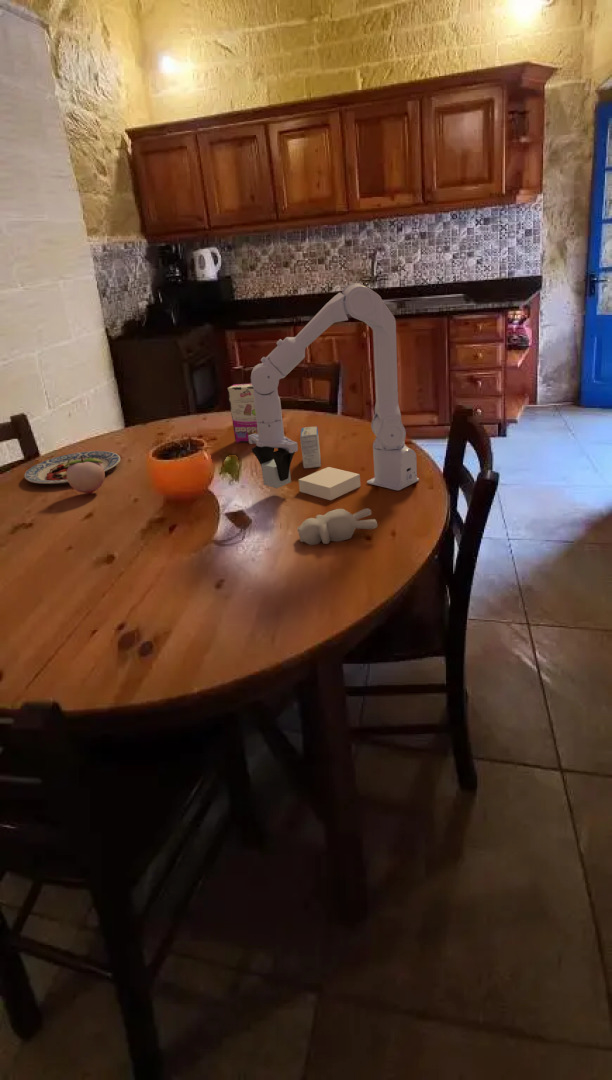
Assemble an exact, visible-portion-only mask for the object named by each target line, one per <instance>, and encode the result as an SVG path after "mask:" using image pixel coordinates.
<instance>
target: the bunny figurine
mask: <svg viewBox="0 0 612 1080" xmlns="http://www.w3.org/2000/svg"><path fill="white" fill-rule="evenodd" d="M371 515H372V509H370V508H367V507H365V508H363V509H361V510H359V511H357V512H355V513H353V514H352V513H351V512H349V511H348V510H345V509H344V508H336V509H332V510H330V511H328V512H326V513H325V514H317V515H315V517H309V518H306V519H305V520H304V521H303V522H302V523H301V525H300V526H297V527H296V528H297V532H298V536H299V540H300V543H303V542H304V543H305V544H307V545H309V546H313V545H318V544H320V543H321V542H322V543H323V544H324V545H328V544H329V543H330V542H331V541H332V542H343V541H346V540H349V539H351V538H352V537H353V534H354V533H355V530H357V529H358V530H360V529H361V530H373V529H376V528H377V527H378V526H379V525H378V522H377V519H375V518H373V519H372V518H370V519H363V518H365V517H369V516H371ZM360 519H361V520H360Z"/></svg>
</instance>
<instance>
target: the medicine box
mask: <svg viewBox="0 0 612 1080" xmlns="http://www.w3.org/2000/svg"><path fill="white" fill-rule="evenodd" d="M299 439H300V448H301V455H302V457H301V458H302V466H303V468H304V469H313V468H315V469H316V468H321V463H322V462H321V450H320V449H321V448H320V440H319V439H320V438H319V427H318V426H306V427H301V428H300V438H299Z"/></svg>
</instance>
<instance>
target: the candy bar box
mask: <svg viewBox="0 0 612 1080" xmlns="http://www.w3.org/2000/svg"><path fill="white" fill-rule="evenodd" d="M253 392H254V388H253V386H252V384H251V383H241V384H240V383H238V384H237V383H236V384H232V385H230V386H229V387H227V395H228V401H229V409H230V413H231V421H232V426H233V427H232V428H233V433H234V439H235V443H236V444H237V443H238V444H239V443H243V444H244V443H249V439H248V435H251V434H254V433H255V434H258V427H257V420H256V412H255V405H254V400H255V398H254V394H253Z"/></svg>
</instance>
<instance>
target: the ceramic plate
mask: <svg viewBox="0 0 612 1080" xmlns="http://www.w3.org/2000/svg"><path fill="white" fill-rule="evenodd" d="M81 456H82V458H83V460H85V459H88V458H96V459H99V460H101V461H102V462H103V463H101V462H99V463H100V464H101V465H102V466H103V469H104V472H105V473H106V472H107V471H110V470H111V469H113V468H114V467H116V466H117V465H118V464H119V463H120V461H121V456H120V455H119V454H117V453H116V452H112V451H106V450H91V451H90V450H89V451H81V452H80V451H79V452H74V453H68V454H64V455H60V456H55V457H52V458H50V459H47V460H44V461H41V462H39V463H37V464H34V465H33V466H31V467H30V468H29V469H26V471H25V473H24V479H25V480H26V481H28V482H30V483H35V484H47V485H48V484H49V485H53V484H67V483H68V484H69V482H68V480H67V469H68V467H69V466H70V465H71V464H70V465H68V466H66V467H65V468H64V466H65V465H66V464H67V463H69V462H71V461H74V460H80V461H82V460H81Z"/></svg>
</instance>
